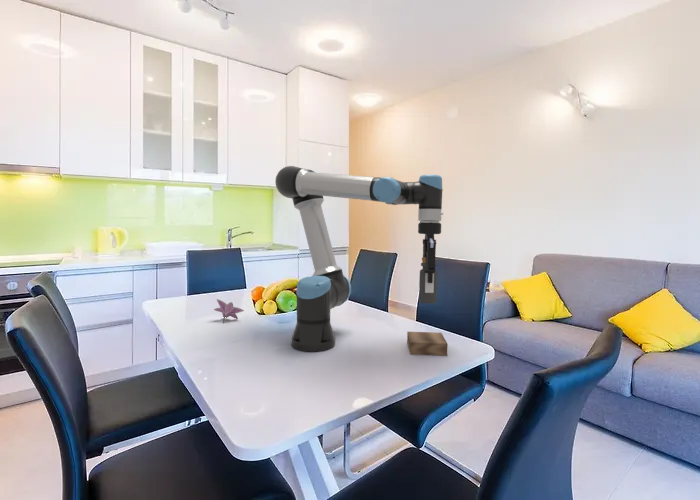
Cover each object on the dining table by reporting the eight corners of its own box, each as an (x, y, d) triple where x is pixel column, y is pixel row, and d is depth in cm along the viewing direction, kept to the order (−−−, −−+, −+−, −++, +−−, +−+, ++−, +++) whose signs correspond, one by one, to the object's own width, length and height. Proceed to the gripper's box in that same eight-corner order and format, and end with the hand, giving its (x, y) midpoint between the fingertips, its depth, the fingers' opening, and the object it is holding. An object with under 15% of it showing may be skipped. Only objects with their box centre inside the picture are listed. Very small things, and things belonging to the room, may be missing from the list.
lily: (246, 325, 158) (248, 303, 162) (223, 319, 149) (226, 296, 153) (227, 329, 164) (230, 308, 168) (204, 324, 155) (208, 301, 159)
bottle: (436, 304, 123) (438, 258, 122) (418, 303, 124) (419, 258, 123) (436, 300, 129) (437, 257, 127) (419, 299, 130) (420, 256, 129)
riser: (409, 354, 122) (410, 342, 122) (407, 342, 134) (407, 331, 134) (447, 355, 121) (447, 343, 121) (441, 343, 133) (441, 332, 133)
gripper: (446, 222, 115) (444, 296, 116) (436, 222, 133) (435, 286, 135) (421, 222, 115) (419, 296, 117) (415, 221, 134) (414, 285, 136)
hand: (427, 290), depth 126 cm, fingers closed on bottle, 6 cm apart
